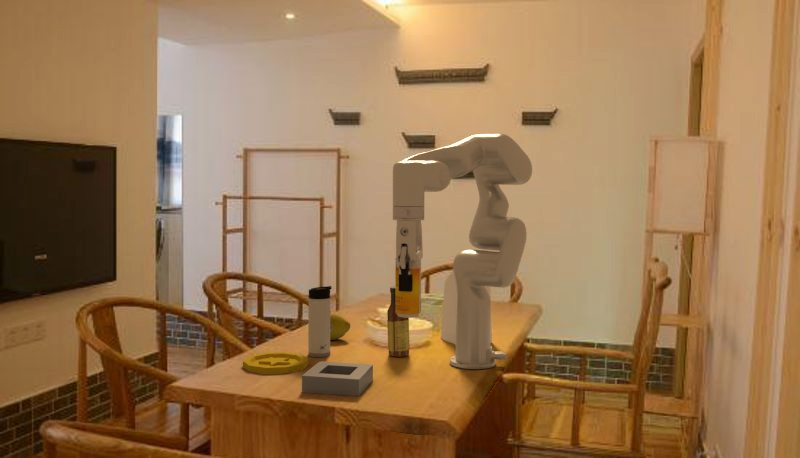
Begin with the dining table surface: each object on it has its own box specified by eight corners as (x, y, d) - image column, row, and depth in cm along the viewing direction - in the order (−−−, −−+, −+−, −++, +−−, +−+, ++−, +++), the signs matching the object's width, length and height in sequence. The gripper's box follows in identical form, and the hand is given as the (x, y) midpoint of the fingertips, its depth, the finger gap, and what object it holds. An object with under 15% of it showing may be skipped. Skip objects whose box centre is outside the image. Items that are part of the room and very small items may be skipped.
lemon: (311, 340, 229) (311, 315, 229) (324, 335, 236) (324, 311, 236) (341, 344, 225) (341, 318, 224) (354, 339, 232) (354, 314, 231)
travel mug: (327, 358, 207) (327, 288, 205) (305, 356, 208) (305, 287, 207) (334, 353, 213) (334, 285, 211) (312, 351, 214) (312, 284, 213)
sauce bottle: (412, 354, 212) (413, 286, 211) (403, 358, 207) (404, 289, 205) (392, 351, 215) (393, 284, 214) (383, 356, 210) (383, 287, 208)
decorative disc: (310, 373, 192) (310, 366, 192) (242, 376, 188) (242, 368, 188) (306, 358, 208) (306, 351, 208) (243, 360, 205) (243, 353, 205)
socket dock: (372, 380, 185) (373, 364, 184) (358, 396, 171) (359, 379, 171) (319, 376, 188) (319, 361, 187) (301, 392, 174) (301, 375, 174)
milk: (472, 335, 239) (474, 256, 237) (491, 342, 229) (493, 260, 227) (440, 338, 234) (441, 257, 232) (458, 346, 223) (459, 261, 222)
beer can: (394, 313, 178) (394, 252, 177) (419, 313, 178) (419, 251, 177) (396, 318, 172) (396, 255, 170) (422, 318, 172) (422, 254, 171)
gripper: (417, 216, 164) (417, 295, 165) (429, 211, 181) (429, 284, 182) (385, 215, 165) (385, 294, 167) (400, 211, 182) (400, 283, 184)
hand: (408, 288), depth 174 cm, fingers closed on beer can, 6 cm apart
